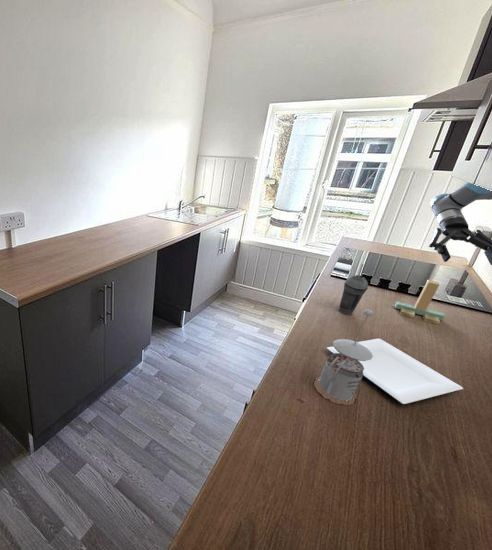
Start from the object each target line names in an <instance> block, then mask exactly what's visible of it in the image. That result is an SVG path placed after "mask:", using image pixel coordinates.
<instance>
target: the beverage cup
mask: <svg viewBox="0 0 492 550" xmlns="http://www.w3.org/2000/svg"><path fill="white" fill-rule="evenodd" d="M363 267H364V263H361V265H360V268H359V272H358V274H354V275H352V276H351V275H350V276H349V277H347V279H346V280H345V282H344V283H343V291H342V296H341V299H340V303H339V307H338V311H339V313H341V314H343V315H347V316H351V315H353V313H354V312H355V311H356V308H357V306H358V304H359V303H360V301H361V299H362V297H363V295H364V294H366V292H367V290H368V288H369V283H368V280H367V279H366V278H365V277H364V276H362V275H361V274H362V270H363Z"/></svg>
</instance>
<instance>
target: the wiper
mask: <svg viewBox="0 0 492 550" xmlns="http://www.w3.org/2000/svg"><path fill="white" fill-rule="evenodd" d="M439 287H440V283H439V282H438V281H435V280H429V279H427V280H426V283H425V284H424V286H423V288H422V290H421V292H420V294H419V296H418V298H417V300H416V302H415V303H414V305H413V304H409V303H405V302H402V301H399V300H397V301H396V302H395V304H394V309H396V310H399V311H401V309H402V308H404V309H408V310H411V311H414V312H415V315H418V316H421V317H423V316H424V314H427V315H431V316H435V317H438V318H439V320H440V322H442V321H443V320H444V319H445V317H446V316H445V313H444V312H441V311H436V310H433V309H430V308H429V309H428V307H429V305H430V303H431V301H432V300H433V298H434V296H435V294H436V292H437V290H438V289H439Z"/></svg>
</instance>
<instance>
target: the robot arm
mask: <svg viewBox="0 0 492 550" xmlns="http://www.w3.org/2000/svg"><path fill="white" fill-rule="evenodd" d="M482 200H487V201H490V200H492V191H490V190H487V189H485V188H482V187H480V186H476V185H474V184H471V183H468V181H467V182H466V183H464V184H463V185H461V186H460V187H458V188H457V189H455V190H454V191H452V192H450V193H441V194H439V195H436V196H434V197H433V198H432V199H431V200H430V204H429V205H430V208H431V211H432V212H433V214H434V216H435V219H436V222H437V224H438V226H439V227H437V228H436V229H435V230H434V231H433V237H432V239H431V240H430V242H429V245H428V247H429V248H433V250H434V251H437V254H439V255H440V256H441V258H442V260H443V262H444V263H447V262H448V261H449V260H450V259H451V254H450V252H449V250H448V247H447V245H446V243H447V242H449V241H450V240H452V241H459V242H460V241H461V242H465V243H468V244H471V245H474V246H475V247H477V248H479V249H481V250H483V251H484V255H485V257H486V259H487V261H488V263H489V264H490V266H492V238H490V237H489V236H488V235H486V234H484V233H483V232H482V230H481V229H476V230H475V231H474V230H471V229H470V228H469V224H468V221H467V220H466V218H465V215H464V214H463V212H462V209H464V208H465V207H467V206H469V205H471V204H472V203H473V202H475V201H482ZM441 235H443V236H445V237H444V238H443V239H442V240H441V241H439V242H438V240H439V238H440V236H441Z"/></svg>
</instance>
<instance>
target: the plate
mask: <svg viewBox="0 0 492 550" xmlns="http://www.w3.org/2000/svg"><path fill="white" fill-rule="evenodd" d="M357 342H358V343H359V344H361V345H363V346H364V347H366V348H367V349H368V350H369V351H370V352H371V353H372V355H373V357H372V359H371V360H367V361H359V362H360V363H361V364H362V365H363V367H364V370H363V376H362V377H364V378H365V379H367V380H368V381H370V382H371V383H372V384H374V385H375V386H377V387H378V388H379V389H381V390H382V391H383V392H385V393H386V394H387V395H388V396H390V397H392V399H394V400H395V401H397V402H398V403H400V404H402V405H406V404H410V403H414V402H418V401H422V400H425V399H429V398H433V397H437V396H440V395H445V394H449V393H452V392H455V391H460V390H464V387H463V386H461V385H459V384H458V383H456V382H455V381H452V380H451V379H449V378H448V377H446V376H444V375H442V373H439V372H437V371H436V370H434V369H432V368H431V367H429V366H428V365H425V363H422V362H420V361H419V360H417V359H415V358H414V357H412V356H410V355H408V354H407V353H405V352H403V351H402V350H400V349H398V348H397V347H395V346H394V345H392V344H391V343H388V342H386V341H385V340H383V339H382V338H373V339H368V340H361V341H357ZM326 349H327V350H328V352H330V353H331V354H334V353H339V352H338V351H337V350H336V349H335V348H334V346H327V347H326Z"/></svg>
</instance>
